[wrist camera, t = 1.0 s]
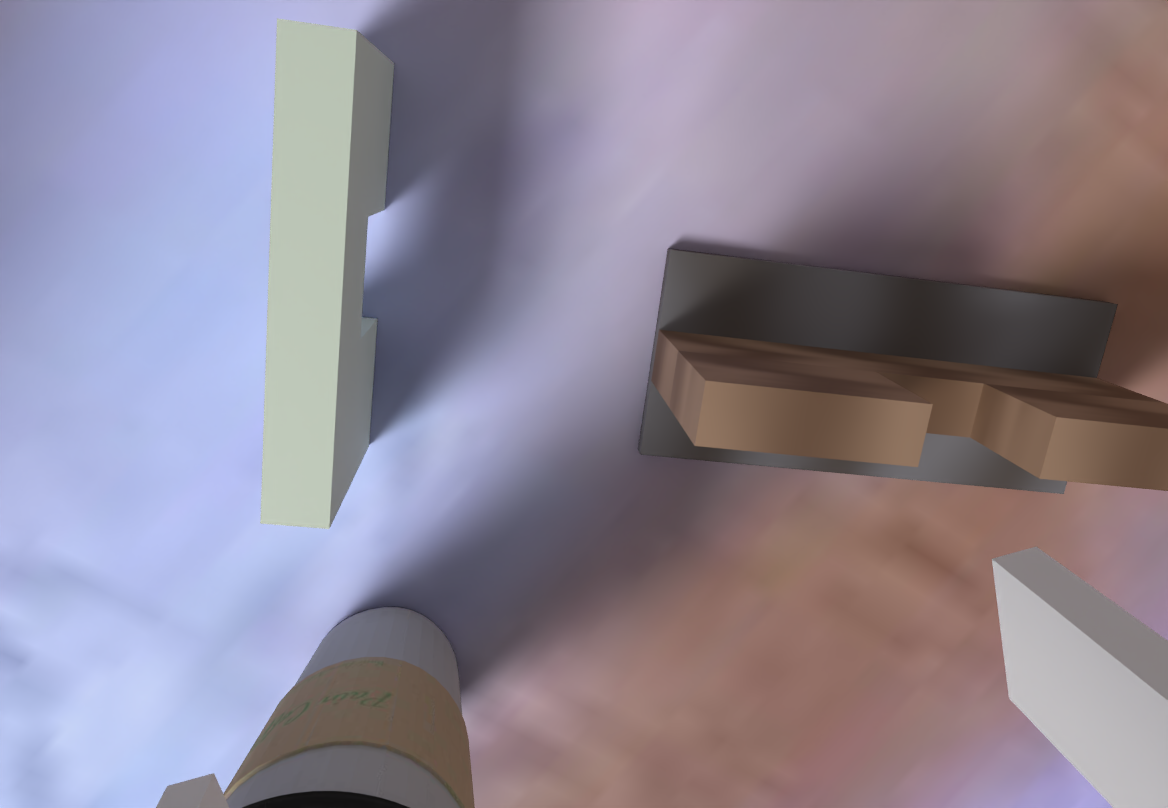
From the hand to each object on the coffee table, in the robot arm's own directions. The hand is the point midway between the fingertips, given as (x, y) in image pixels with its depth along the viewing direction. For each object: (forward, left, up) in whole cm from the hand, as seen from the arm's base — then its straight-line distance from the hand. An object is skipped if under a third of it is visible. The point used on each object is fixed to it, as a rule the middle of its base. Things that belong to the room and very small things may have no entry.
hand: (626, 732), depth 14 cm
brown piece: (+11, +7, -21) cm, 24 cm away
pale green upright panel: (-9, +2, -21) cm, 22 cm away
